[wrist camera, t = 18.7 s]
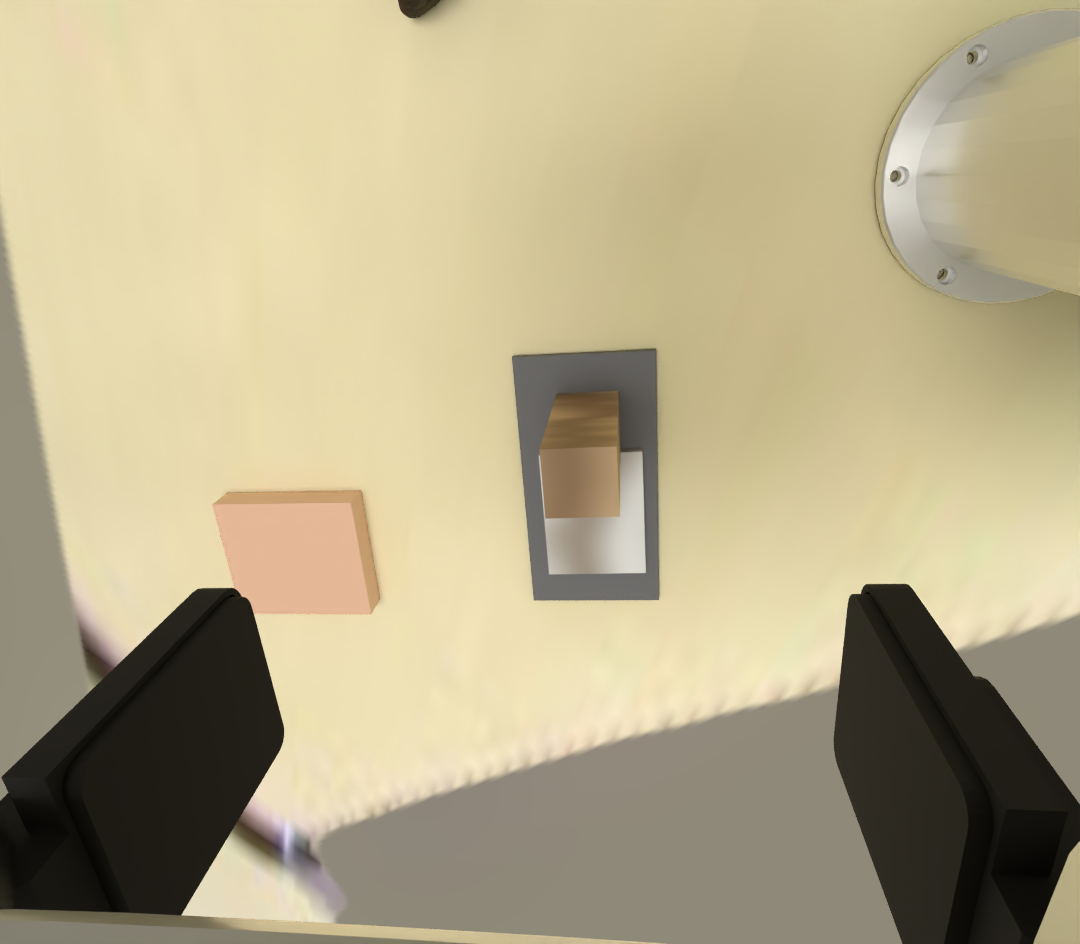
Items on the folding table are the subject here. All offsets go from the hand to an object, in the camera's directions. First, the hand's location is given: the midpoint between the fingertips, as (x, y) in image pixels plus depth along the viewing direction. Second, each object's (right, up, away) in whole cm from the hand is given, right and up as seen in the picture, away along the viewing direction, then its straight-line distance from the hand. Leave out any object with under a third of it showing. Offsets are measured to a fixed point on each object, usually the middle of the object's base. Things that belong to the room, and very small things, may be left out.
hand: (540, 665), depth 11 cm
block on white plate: (+3, +2, +31) cm, 32 cm away
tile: (-16, +1, +33) cm, 37 cm away
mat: (+3, +2, +32) cm, 32 cm away
